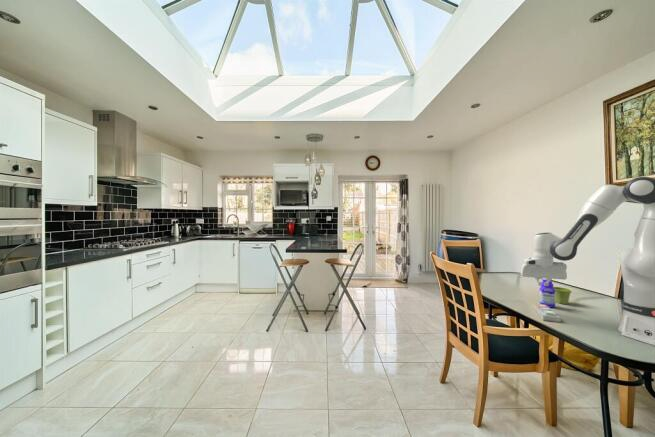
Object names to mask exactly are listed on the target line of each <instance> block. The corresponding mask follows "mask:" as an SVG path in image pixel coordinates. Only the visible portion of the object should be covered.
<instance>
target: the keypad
mask: <svg viewBox="0 0 655 437" xmlns="http://www.w3.org/2000/svg"><path fill="white" fill-rule="evenodd" d="M548 308H550V307H548ZM532 310H533V311H534V312H535V313H536V315H537V316H539V318H540V319H542V321H547V322H556V323H561V316H559V314H557V313H556V312H555V311H554V310H553V309H551V310H552V311H553V312H554V313H555V314H556V316H549V315H545V314H544V313H543V312H542V311H541V310H540V309H539V308H538V307H537V304H536V305H535V304H532Z"/></svg>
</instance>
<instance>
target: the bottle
mask: <svg viewBox="0 0 655 437" xmlns="http://www.w3.org/2000/svg"><path fill="white" fill-rule="evenodd" d="M552 280H553V279H551V281H550V282H549V283H548V286H544V282H546V281H547V279H546V278H542V282H541V283H542V286H540V287H539V289H538V290H539V304H542V305H546V306H548V307H549V308H555V307H556V302H555V289H554V288H553V287H555V285H554V284H553V281H552Z"/></svg>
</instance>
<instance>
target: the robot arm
mask: <svg viewBox="0 0 655 437" xmlns="http://www.w3.org/2000/svg"><path fill="white" fill-rule="evenodd" d="M623 203H631V204H639V205H642V206H643V212H642V215H641V216H640V219H639V222H638V223H637V226H636V229H635V231H634V242H633V248H628V249H625V250H623V251H622V252H621V253H620V254H619V262H620V269H621V277H622V280H623V300H622V303H621V304H622V306H621V307H622V317H621V321H620V324H619V327H618V328H617V330H618V331H619V332H620V333H621V335H622V336H624V337H627V338H631V339H632V340H637V341H640V342H643V343H646V344H649V345H652V346H654V347H655V178H652V177H649V176H639V177H635V178H632V179H630V180H628V181H627V182H626V184H625V185H623V186H622V185H621V186H620V185H619V186H618V185H616V184H604V185H602V186H600V187H599V188H598V189H597V190H596V191H594V192H593V194H592V195H590V196H589V198H588V199H587V200H586V201H585V202H584V204H582V206H581V209H580V211H579V213H578V216H577V219H576V222H575V223H574V225H573V226H572V227H571V229H569V231H568V232H567V233H566V234H565V235H564V236H563V237H560V236H558V235H556V234H553V233H552V232H540V233H537V234H536V235H534V237H533V240H532V241H533V242H532V249H533V254H532V256H531V257H527V258H523V259H522V262H523V263H522V264H521V266H520V275H521V276H522V277H526V278H534V279H535V281H536V282H537V286H540V287H541V286H542V282H541V281H540V279H543V278H546V279H547V281H546V282H544V286H548V283H549V282H550V281H551V279H552V280H566V279H567V278H568V276H567V275H568V274H567V268H568V265H567V264H566V263H564V262H566V261H571V260H573V259H574V258H575V257H576V256H577V253H578V247H579V246H580V244H581V243H582V241H583V240H584V239H585V238H586V236H587V235H588V234H589V233H590V232H591V231H592V230H593V229H594V228H596V227H597V226H599V225H601V224H602V223H604V221H606V220H607V219H608V218H609V217H610V216H611V215H612V214H613V213H614V212H615V211H616V210H617V209H618V207H619V206H621V204H623ZM554 259H556V260H558V261H554ZM559 261H560V262H559ZM562 261H563V262H562Z"/></svg>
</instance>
